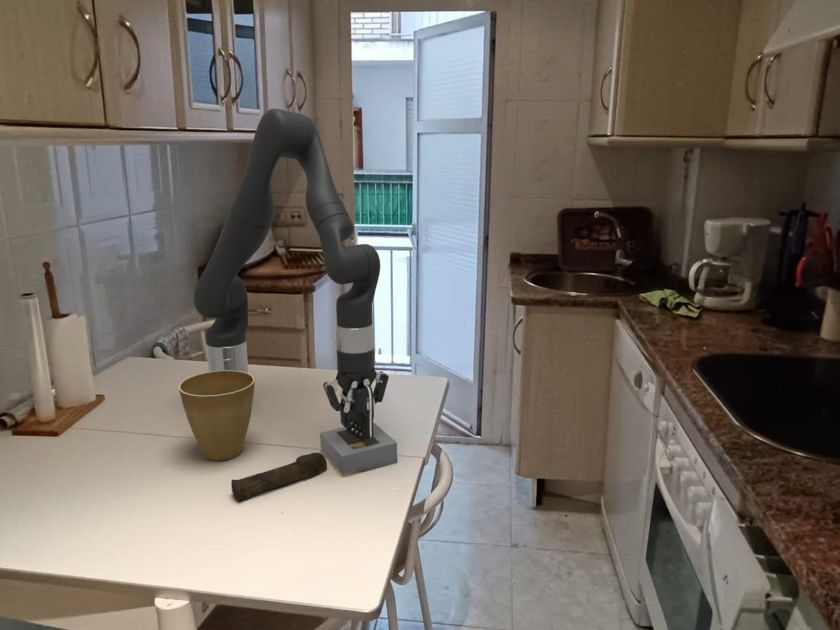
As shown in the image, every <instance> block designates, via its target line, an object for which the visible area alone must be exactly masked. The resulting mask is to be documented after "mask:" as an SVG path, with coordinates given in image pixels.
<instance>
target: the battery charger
mask: <svg viewBox="0 0 840 630" xmlns="http://www.w3.org/2000/svg"><path fill="white" fill-rule="evenodd" d="M373 392H374V390H373V388H372V385H371V386H370V385H365V386H364V385H363V384H362V385H357V388H356V389H354V391H353V401H352V402H351V405H350V409H349V412H350V424H351V428H349V429H346V431H347V432H348V433H350V434H351V435H353V436H355V437H356V438H358V439H367V438H371V437H373V436H374V433H373V422H374V419H373ZM345 394H346V395H348V394H347V393H346V392H345Z"/></svg>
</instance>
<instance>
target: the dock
mask: <svg viewBox="0 0 840 630" xmlns="http://www.w3.org/2000/svg"><path fill="white" fill-rule="evenodd" d="M373 433H374V436H373V437H371V438H367V439H358V438H356V437H355V436H353V435H351V434H350V433H348V432H347V431H346V428H345V427H344V426H343V427H338V428H333V429H331V430H330V429H329V430H325V431H321V432H320V433H319V439H320V441H319V442H320V443H319V444H320V453H321V454H322V455H323V456H324V457H325V459H326V461H327V462H329V463H330V465H331V466H333V468H334V469H335V470H336V471H337V472H338V473H339V474H340V476H341V477H342V478H346V477H349V476H353V475H356V474H360V473H363V472H368V471H371V470H375V469H379V468H382V467H383V468H384V467H386V466H390V465H393V464H397V463H398V442H397V441H396V440H394V438H392V437H391V436H390V435H389V434H388V433H387V432H386V431H384V430H383V429H382V428H381V427H379V425H377V424H376V423H375V422H374V421H373Z"/></svg>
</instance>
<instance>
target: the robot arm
mask: <svg viewBox="0 0 840 630" xmlns="http://www.w3.org/2000/svg"><path fill="white" fill-rule="evenodd" d="M280 158H282V159H283V158H284V159H292V160H296V161H297V162H298V165H300V166H301V168H302V170H303V172H304V174H305V177H306V191H305V206H306V210H307V211H306V212H307V213H308V216H309V218H310V220H311V221H312V224H313V226H314V228H315V230H316V233H317V234H318V237H319V242H320V246H321V250H322V256H323V257H322V258H323V263H324V268H325V270H324V271H325V272H326V275H327V276H328V277H329V279H330V280H331V281H333V282H334V283H336V284H338V285H346V284H347V285H348V284H352V285H351V288H350V289H349V290H348V291H346V292H344V293H343V294H341V295H339V296H338V297H337V299H336V302H335V303H336V304H335V305H336V306H335V307H336V308H335V309H336V310H335V311H336V332H335V346H336V348H335V349H336V369H337V374H336V377H335V379H334V380H332V381H330V382H328V381H325V382H323V384H322V387H323V389H324V391H325V394H326V397H327V399H328V402H329V404H330V407H331V408H333V410H334V411H335V412H340V414H339V415H340V424H341V425H342V426H343V427H345V428H346V429H349V428H351V424H350V412H349V409H350V405H351V402H352V401H353V391H354V389H356V388H357V385H362V384H363V385H364V386H365V385H370V386H371V387H372V384H373V383H374V381H375V385H374V388H373V420H374V419H375V405H376V404H378V403H382V402H383V400H384V396H385V392H386V389H387V386H388V382H389V379H390V378H389V375H388V374H387V373H386V372H384V371H382V370H381V371H378V372H377V371H376V369H375V365H376V360H375V359H376V357H375V352H376V351H375V332H374V324H373V322H374V321H373V320H374V319H373V318H374V316H373V302H374V298H375V294H376V290H377V286H378V282H379V277H380V273H381V260H380V256H379V253H378V251H377V250H376V248H375V247H374V246H373V245H370V244H367V243H361V244H354V245H353V244H352V245H346V246H344V244H343V243H344V242H345V241H346V240H348V239H349V238H351V236H352V235H353V233H354V232H355V227H354V224H353V220H352V218H351V216H350V215H349V213H348V211H347V210H348V209H346V207H345V205H344V203H343V201H342V198H341V197H340V195H339V193H338V189H337V188H336V186H335V183H334V180H333V177H332V174H331V171H330V166H329V164H328V160H327V156H326V154H325V150H324V148H323V144H322V141H321V138H320V134H319V132H318V129H317V126H316V124H315V122H314V121H313V120H312V119H311V118H310V117H309V116H307V115H306V114H302V113H298V112H294V111H289V110H285V109H281V108H270V109H268V110H266V111H265V112H264V114H263V115H262V116H261V117H260V120H259V122H258V124H257V127H256V130H255V134H254V137H253V141H252V144H251V147H250V151H249V155H248V158H247V163H246V165H245V166H246V167H245V169H244V172H243V175H242V177H241V178H242V179H241V181H240V183H239V186H238V188H237V192H236V194H235V196H234V199H233V201H232V203H231V205H230V208H229V211H228V213H227V215H226V219H225V222H224V224H223V226H222V227H223V228H222V230H221V232H220V235H219V238H218V240H217V242H216V244H215V247H214V249H213V252H212V254H211V257H210V259H209V261H208V262H207V265H206V266H205V268H204V270H203V271H202V273H201V276H200V277H199V279H198V280H197V283H196V285H195V289H194V292H193V304H194V306H195V307H194V308H195V310H196V311H197V313H198V314H200V316H202V317H204V318H206V319H215V320H214V321H213V323H212V324H211V326H210V327H209V328H208V329H207V330H206V331H205V334H204V337H205V339H204V340H205V347H206V358H207V367H208V368H207V369H208V370H206V372H212V371H222V370H234V371H242V372H246V373H249V363H248V362H249V361H248V350H247V348H248V347H247V332H248V328H249V301H248V300H249V297H248V291H247V288H246V284H245V283H244V281H243V280H242V279H241V278H240V277H239V276H238V273H239V272H240V270H241V269H242V268H243V267H245V265H246V263H247V262H248V261H249V260H250V259H251V258H252V257H253V256H254V254H255V253H257V252H258V250H259V249H260V248H261V246H262V245H263V244H264V242H265V240H266V238H267V236H268V234H269V232H270V229H271V227H272V224H273V223H274V219H275V213H276V207H275V201H274V196H273V195H274V194H273V191H272V185H271V184H272V177H273V173H274V170H275V167H276V165H277V163H278V162H279V159H280ZM249 374H250V373H249ZM338 387H340V388H341V392H340V401H339V399H338V396H337V394H336V392H337V391H338ZM345 392H346V393H347V394H348V395H346V394H345Z"/></svg>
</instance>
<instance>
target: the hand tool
mask: <svg viewBox="0 0 840 630" xmlns="http://www.w3.org/2000/svg"><path fill="white" fill-rule="evenodd" d="M327 470H328V460H327V458H326V457H325V456H324V455H323V454H322V453H321V452H311V453H309V454H308V453H307V454H301V455H300V456H298V457H297V458H296V459H295V461H294V462H291V463H288V464H286V465H285V464H284V465H282V466H278V467H275V468H272V469H268V470H266V471H263V472H261V473H260V472H259V473H256V474H252V475H250V476H246V477H243V478H240V479H231V482H230V483H231V492H232V495H233V498H234V500H236V501H237V502H238V503H239V502H241V500H243V499H246V500H248V499H249V497H250V496H253V495H256V494H260V493H263V492H265V491H269V490H271V489H275V488H278V487H280V486H284V485H286V484H289V483H292V482H294V481H298V480H300V481H302V480H303V482H304V481H305V482H306V481H307V479H308V480H311V479H313V478H315V477H316V476H317V477H318V475H320V474H322V473H324V472H326V471H327ZM312 477H313V478H312Z"/></svg>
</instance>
